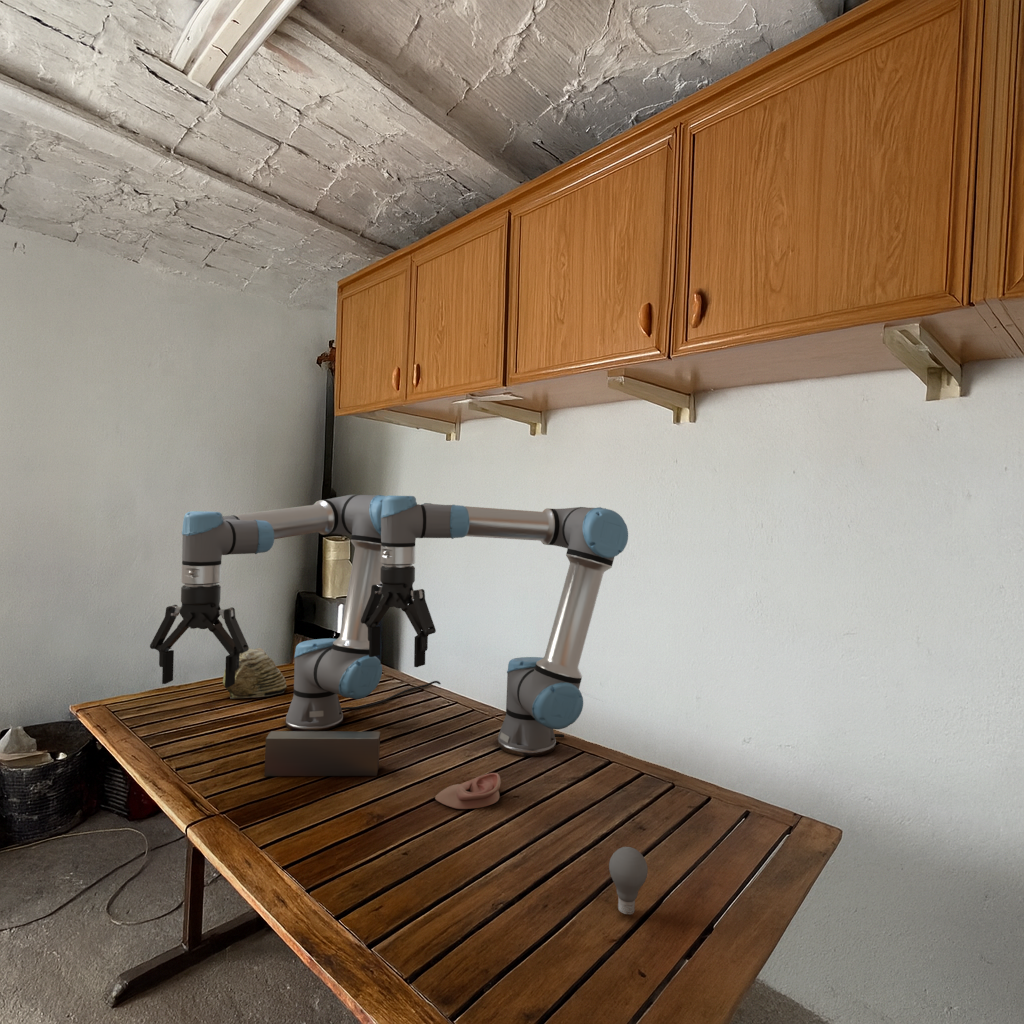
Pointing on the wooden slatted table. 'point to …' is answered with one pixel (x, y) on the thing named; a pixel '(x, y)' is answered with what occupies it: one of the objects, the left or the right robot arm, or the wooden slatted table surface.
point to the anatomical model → (472, 793)
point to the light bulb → (627, 876)
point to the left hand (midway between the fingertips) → (198, 684)
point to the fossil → (256, 676)
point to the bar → (322, 753)
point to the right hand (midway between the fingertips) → (396, 660)
